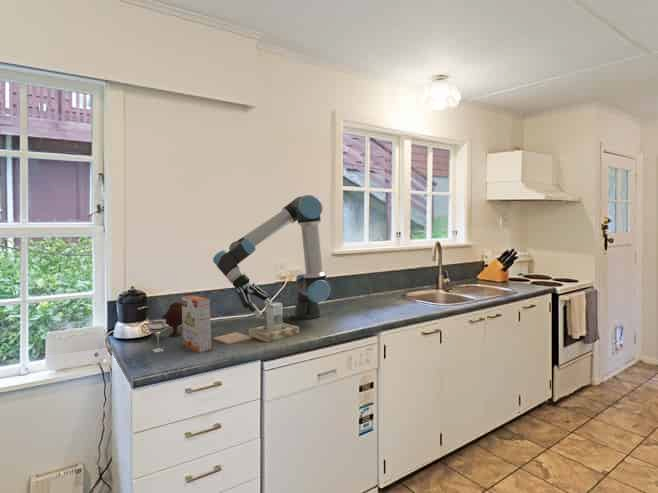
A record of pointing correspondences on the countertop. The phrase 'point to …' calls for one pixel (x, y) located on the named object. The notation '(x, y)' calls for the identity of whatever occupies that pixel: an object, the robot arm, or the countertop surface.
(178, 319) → the ice cream bowl
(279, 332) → the well board
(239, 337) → the terracotta tile
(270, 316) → the syrup box
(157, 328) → the wineglass
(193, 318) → the cracker box
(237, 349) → the countertop surface
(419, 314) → the countertop surface
